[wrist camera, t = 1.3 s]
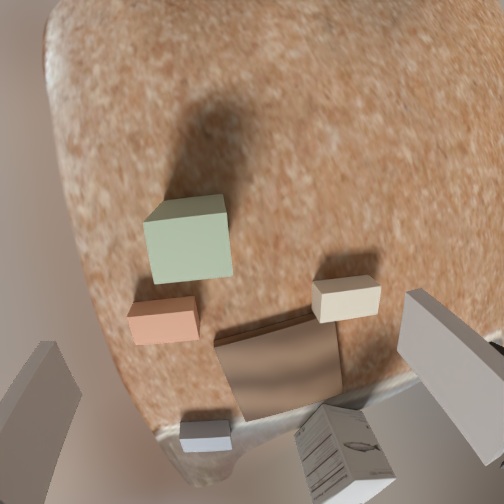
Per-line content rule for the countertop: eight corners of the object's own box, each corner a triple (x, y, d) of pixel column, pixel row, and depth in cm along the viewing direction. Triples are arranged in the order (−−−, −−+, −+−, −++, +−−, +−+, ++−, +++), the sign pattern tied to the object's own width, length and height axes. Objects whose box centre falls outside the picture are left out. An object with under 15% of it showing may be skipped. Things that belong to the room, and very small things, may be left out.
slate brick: (184, 434, 34) (184, 452, 32) (180, 421, 34) (179, 439, 31) (230, 432, 35) (232, 449, 32) (228, 418, 34) (229, 436, 31)
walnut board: (213, 340, 30) (213, 347, 29) (329, 307, 30) (333, 313, 29) (244, 414, 34) (245, 421, 33) (339, 386, 34) (343, 393, 33)
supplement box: (363, 409, 37) (399, 477, 25) (331, 441, 38) (358, 508, 26) (322, 401, 35) (356, 480, 23) (291, 435, 36) (313, 511, 25)
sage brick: (163, 200, 25) (142, 222, 17) (222, 193, 25) (226, 212, 18) (170, 246, 26) (154, 284, 19) (227, 239, 27) (233, 275, 19)
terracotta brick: (141, 328, 29) (135, 345, 26) (133, 301, 28) (126, 317, 25) (200, 322, 29) (199, 339, 26) (194, 294, 28) (193, 310, 25)
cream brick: (310, 307, 30) (320, 323, 27) (311, 280, 29) (321, 294, 26) (364, 300, 31) (377, 313, 28) (367, 273, 30) (381, 286, 27)
